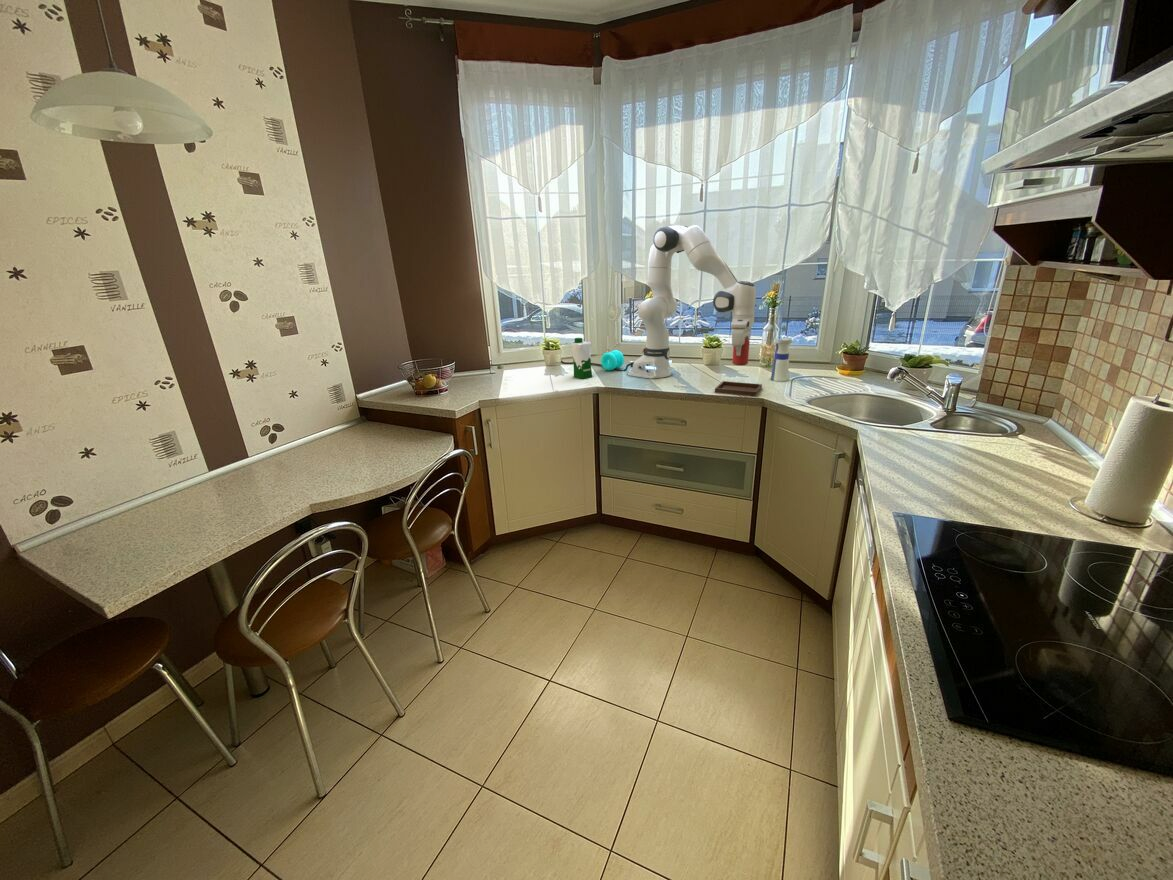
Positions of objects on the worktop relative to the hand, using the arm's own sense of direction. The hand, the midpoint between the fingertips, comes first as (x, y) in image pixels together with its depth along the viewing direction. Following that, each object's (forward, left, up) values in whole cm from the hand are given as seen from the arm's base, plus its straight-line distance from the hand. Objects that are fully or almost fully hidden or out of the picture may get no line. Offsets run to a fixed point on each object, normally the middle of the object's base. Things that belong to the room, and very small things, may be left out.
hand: (740, 353), depth 208 cm
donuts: (-73, +20, -17) cm, 77 cm away
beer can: (0, 0, -5) cm, 5 cm away
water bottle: (+13, +26, -17) cm, 33 cm away
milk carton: (-80, -1, -17) cm, 82 cm away
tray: (0, 0, -17) cm, 17 cm away
